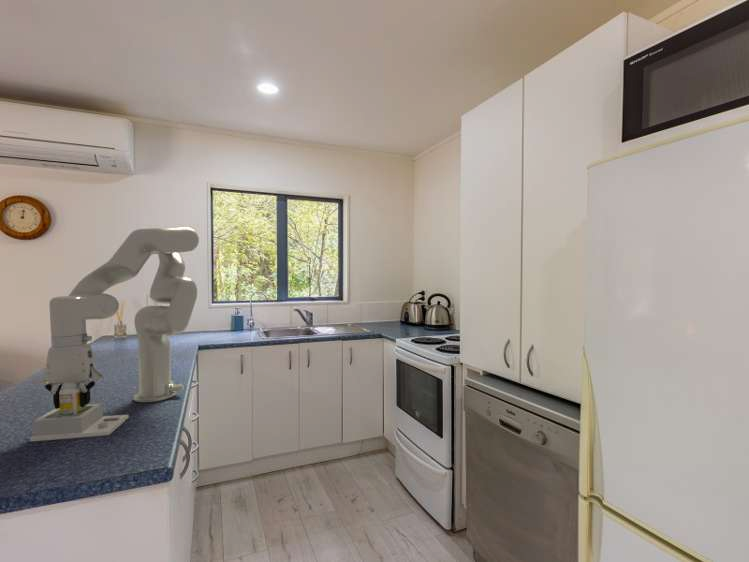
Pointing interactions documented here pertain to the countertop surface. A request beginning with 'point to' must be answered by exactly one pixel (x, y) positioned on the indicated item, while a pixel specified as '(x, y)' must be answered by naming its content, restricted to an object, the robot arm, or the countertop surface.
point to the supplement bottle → (70, 400)
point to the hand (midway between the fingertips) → (72, 405)
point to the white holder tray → (75, 424)
